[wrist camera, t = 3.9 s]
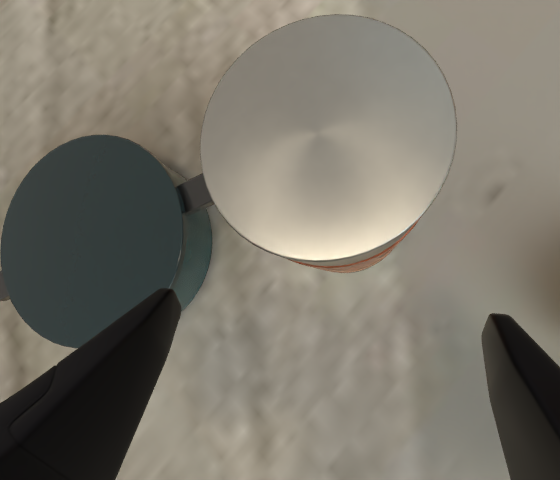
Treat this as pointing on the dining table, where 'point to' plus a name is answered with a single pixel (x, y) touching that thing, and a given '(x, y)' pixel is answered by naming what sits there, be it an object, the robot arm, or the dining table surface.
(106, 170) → the pot
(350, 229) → the can
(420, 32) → the dining table surface
